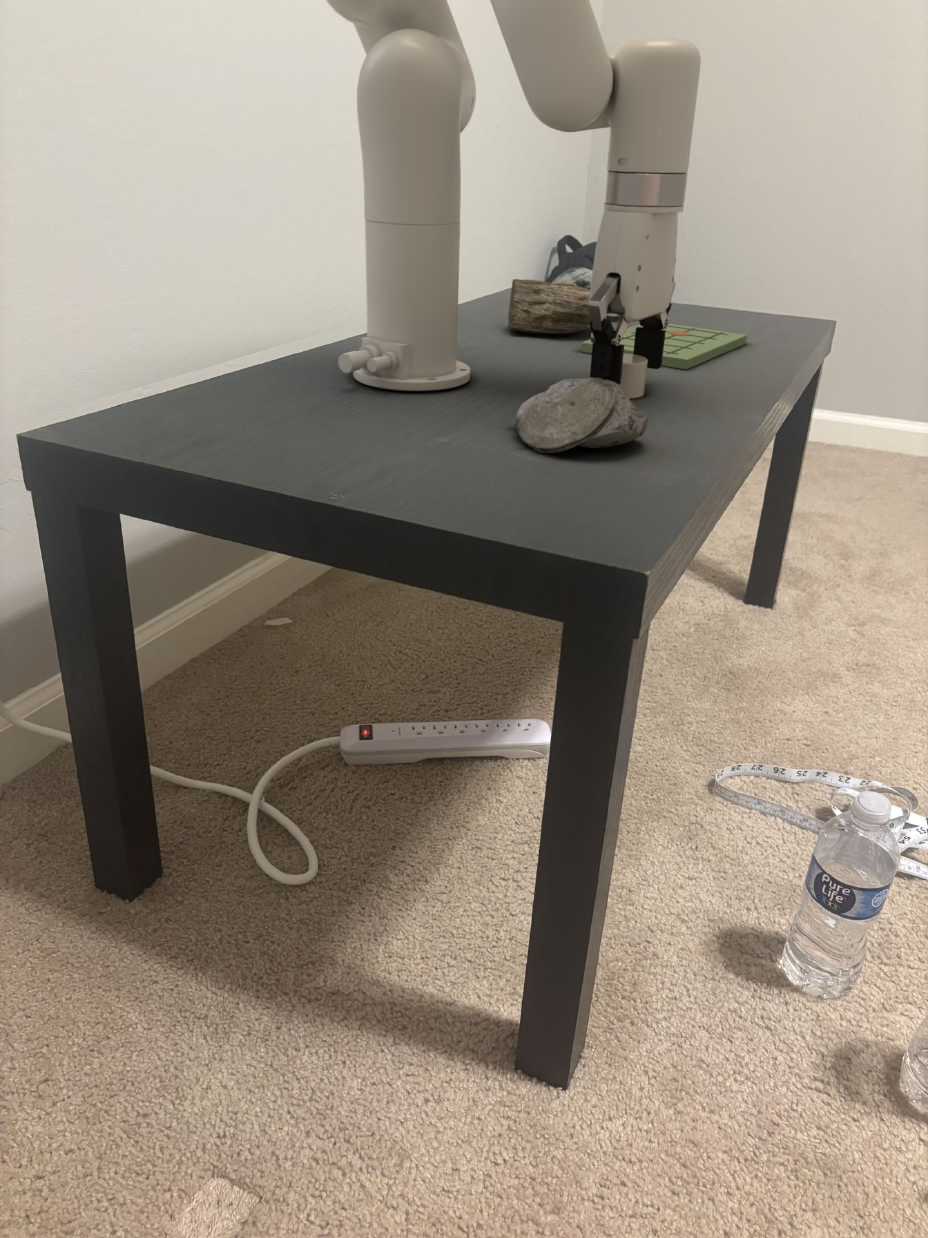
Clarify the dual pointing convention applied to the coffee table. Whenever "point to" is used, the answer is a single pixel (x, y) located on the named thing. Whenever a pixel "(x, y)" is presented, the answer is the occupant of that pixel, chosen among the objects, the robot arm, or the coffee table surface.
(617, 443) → the fossilized seashell
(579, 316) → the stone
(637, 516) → the coffee table surface
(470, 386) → the coffee table surface
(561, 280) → the seashell
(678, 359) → the board
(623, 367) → the beige cylinder
